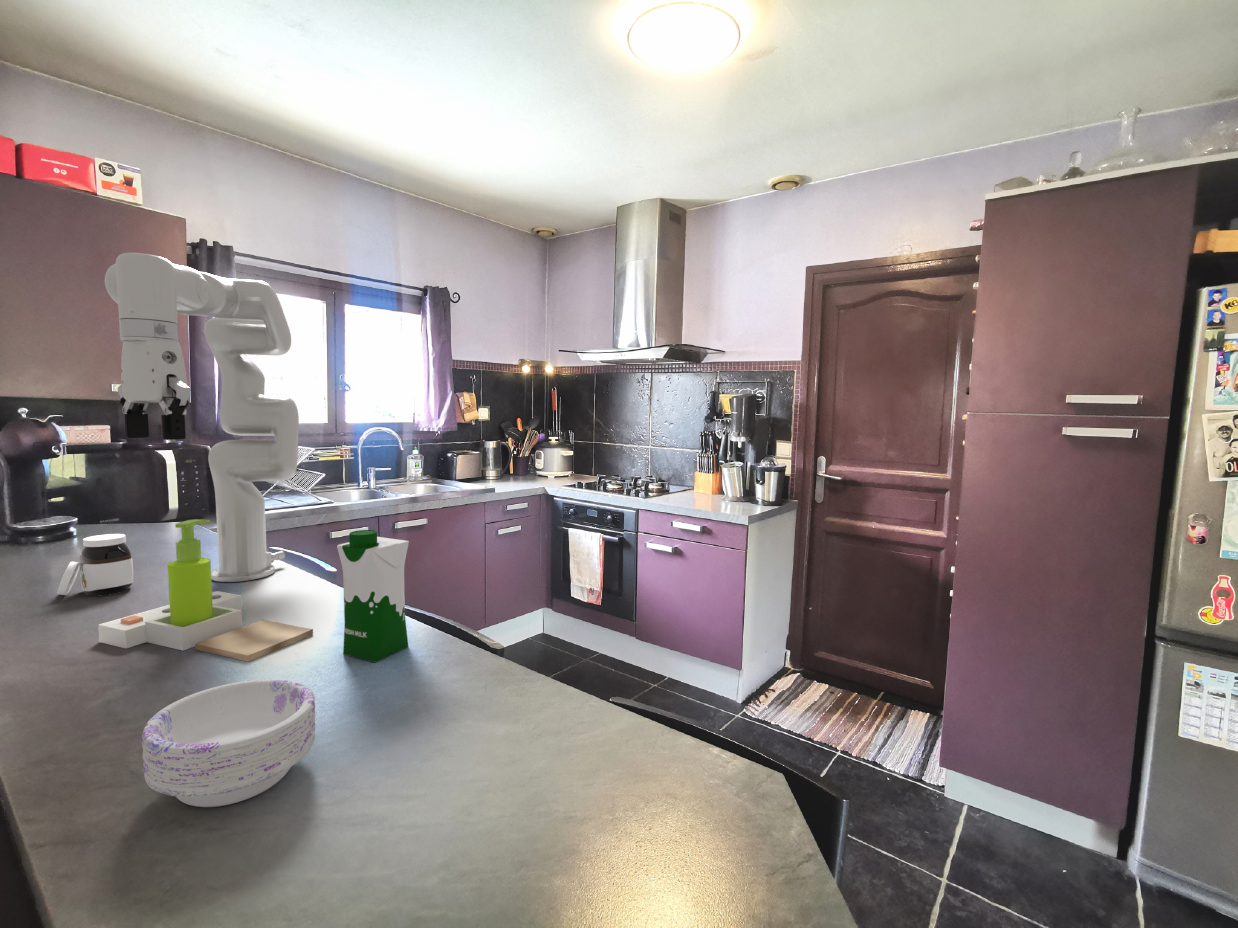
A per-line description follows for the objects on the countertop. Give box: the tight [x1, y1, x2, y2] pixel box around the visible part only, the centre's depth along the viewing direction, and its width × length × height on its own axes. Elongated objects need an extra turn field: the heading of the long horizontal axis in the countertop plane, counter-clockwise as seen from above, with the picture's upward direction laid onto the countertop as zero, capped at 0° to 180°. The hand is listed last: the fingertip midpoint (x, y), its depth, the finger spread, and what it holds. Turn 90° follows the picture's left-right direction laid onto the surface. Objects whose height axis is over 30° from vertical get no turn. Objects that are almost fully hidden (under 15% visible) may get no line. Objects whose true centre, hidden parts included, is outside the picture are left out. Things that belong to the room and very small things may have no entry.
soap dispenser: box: [167, 518, 213, 627], centre depth 101 cm, size 6×7×20 cm
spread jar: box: [57, 533, 134, 597], centre depth 124 cm, size 12×11×12 cm
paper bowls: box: [141, 678, 316, 808], centre depth 63 cm, size 15×15×8 cm
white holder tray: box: [97, 590, 244, 652], centre depth 105 cm, size 20×16×4 cm
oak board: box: [194, 619, 314, 662], centre depth 99 cm, size 12×12×1 cm
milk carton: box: [336, 529, 410, 663], centre depth 96 cm, size 9×9×20 cm
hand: (155, 438), depth 98 cm, fingers open, 9 cm apart
